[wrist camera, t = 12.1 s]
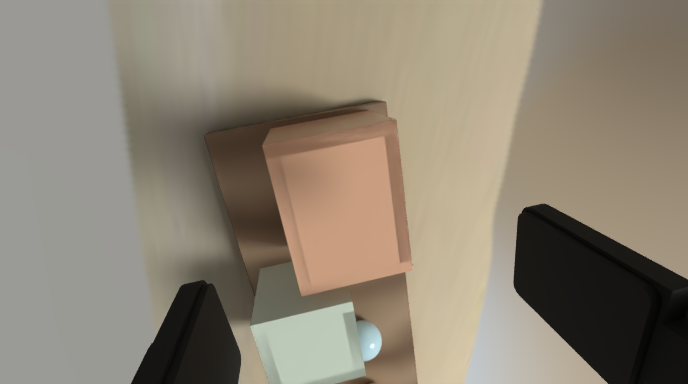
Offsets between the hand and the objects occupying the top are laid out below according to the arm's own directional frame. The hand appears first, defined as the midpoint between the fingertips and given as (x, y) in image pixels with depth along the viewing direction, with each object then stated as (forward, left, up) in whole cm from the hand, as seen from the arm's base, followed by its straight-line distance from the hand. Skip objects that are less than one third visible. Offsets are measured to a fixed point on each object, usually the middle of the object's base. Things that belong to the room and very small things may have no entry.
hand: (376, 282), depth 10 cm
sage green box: (+9, -3, -13) cm, 17 cm away
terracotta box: (+1, 0, -13) cm, 13 cm away
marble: (+16, 0, -12) cm, 20 cm away
